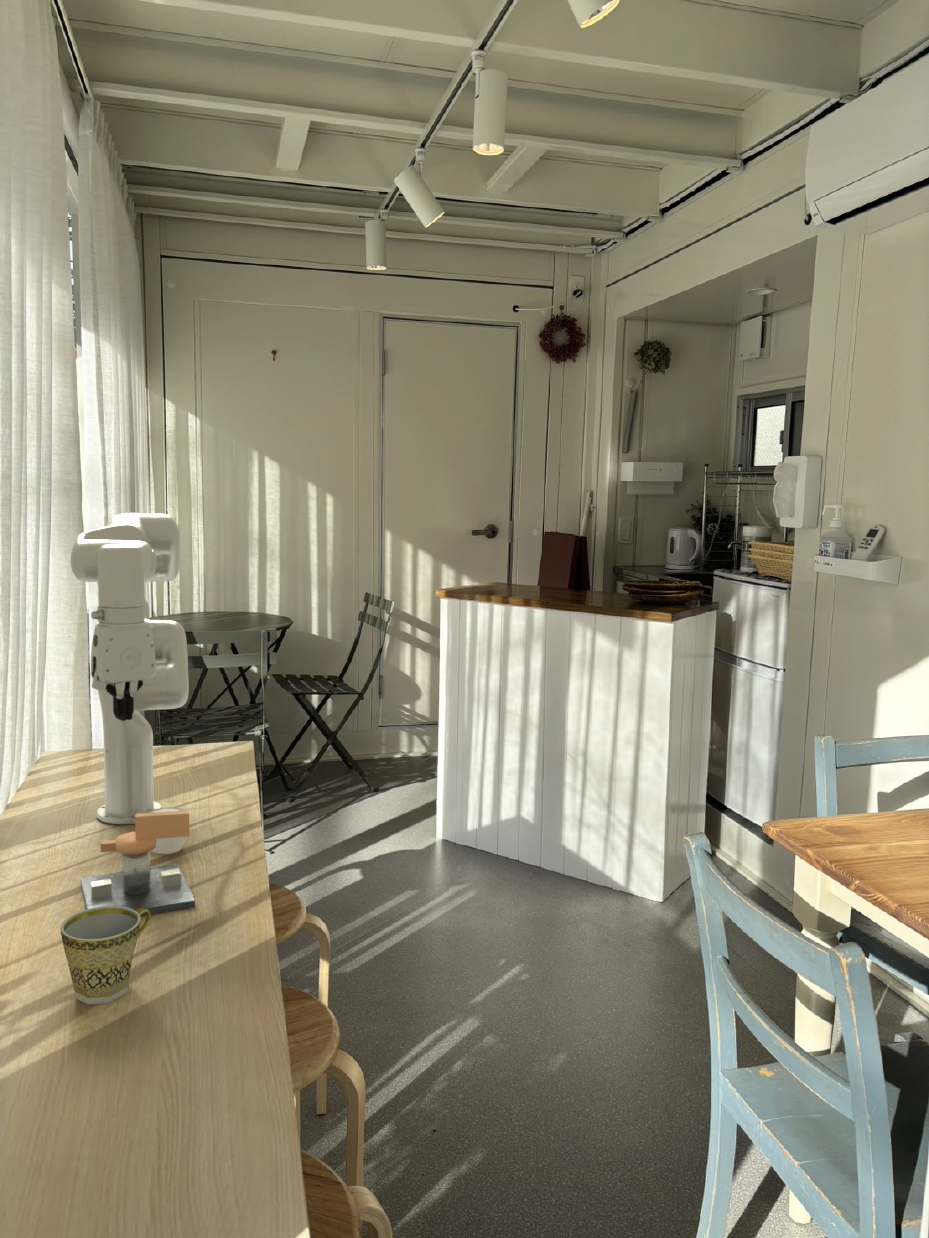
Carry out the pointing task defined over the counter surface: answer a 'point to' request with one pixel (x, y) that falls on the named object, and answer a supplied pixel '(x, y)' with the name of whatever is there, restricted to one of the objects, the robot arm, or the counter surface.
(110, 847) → the orange lever handle
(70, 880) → the counter surface
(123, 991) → the ceramic cup
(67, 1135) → the counter surface
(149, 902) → the grey plate with posts
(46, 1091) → the counter surface
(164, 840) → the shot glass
